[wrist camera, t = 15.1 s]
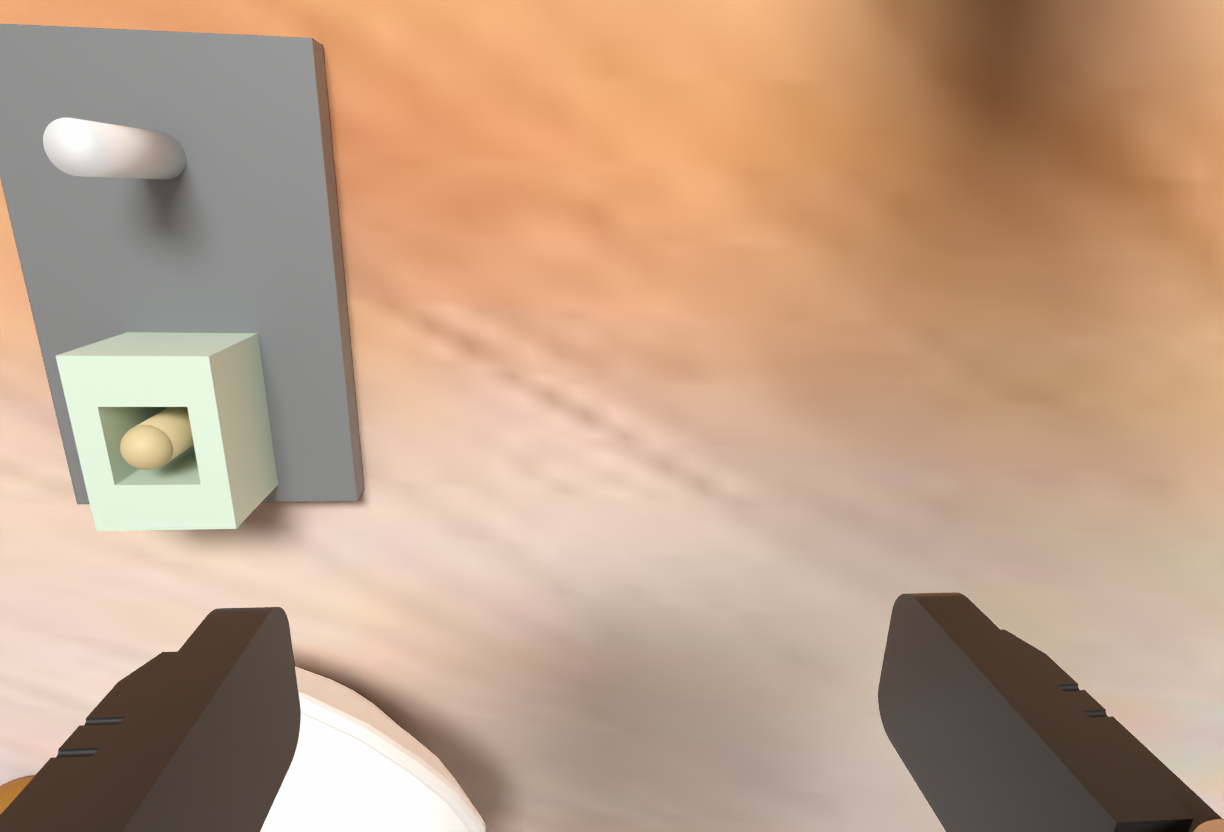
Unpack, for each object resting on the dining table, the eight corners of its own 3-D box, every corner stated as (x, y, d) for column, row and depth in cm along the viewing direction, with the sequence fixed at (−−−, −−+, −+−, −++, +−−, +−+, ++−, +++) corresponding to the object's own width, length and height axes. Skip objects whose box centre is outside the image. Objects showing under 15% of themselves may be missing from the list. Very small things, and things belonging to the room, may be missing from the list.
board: (-9, 30, 30) (-184, -21, 23) (322, 45, 31) (254, 1, 24) (95, 492, 37) (-15, 564, 29) (364, 489, 38) (320, 557, 31)
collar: (127, 332, 33) (55, 355, 28) (257, 333, 33) (208, 356, 29) (157, 485, 35) (96, 530, 30) (278, 484, 36) (236, 528, 31)
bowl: (63, 769, 42) (-55, 908, 34) (247, 530, 38) (165, 621, 30) (352, 907, 47) (311, 1055, 39) (539, 710, 43) (536, 828, 35)
